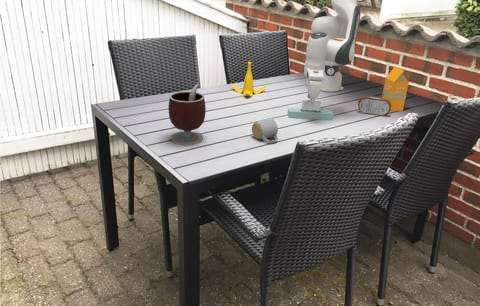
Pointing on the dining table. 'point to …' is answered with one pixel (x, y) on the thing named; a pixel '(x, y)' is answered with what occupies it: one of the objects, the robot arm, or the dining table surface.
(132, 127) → the dining table surface
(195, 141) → the mate gourd
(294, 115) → the rail
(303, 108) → the white block
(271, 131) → the ceramic mug
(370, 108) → the tin
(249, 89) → the banana peel
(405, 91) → the orange juice
